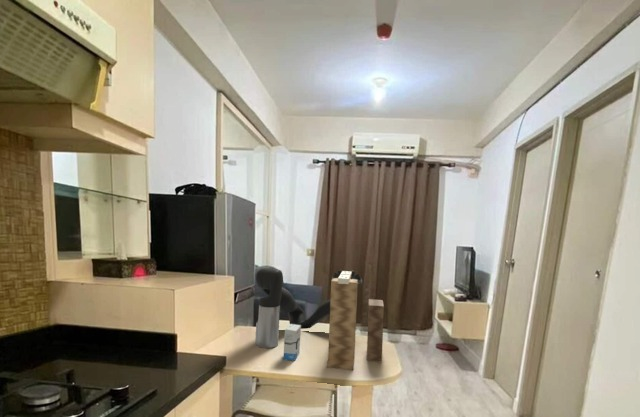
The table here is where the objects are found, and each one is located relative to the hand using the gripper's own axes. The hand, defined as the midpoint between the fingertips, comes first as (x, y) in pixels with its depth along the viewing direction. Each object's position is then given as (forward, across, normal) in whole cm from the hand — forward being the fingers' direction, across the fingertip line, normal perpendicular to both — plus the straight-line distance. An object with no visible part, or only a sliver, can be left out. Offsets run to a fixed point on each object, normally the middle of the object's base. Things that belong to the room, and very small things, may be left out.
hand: (346, 272), depth 143 cm
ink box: (-11, +20, -33) cm, 41 cm away
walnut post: (-20, -13, -28) cm, 37 cm away
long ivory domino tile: (+3, 0, -4) cm, 5 cm away
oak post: (-10, 0, -34) cm, 35 cm away
